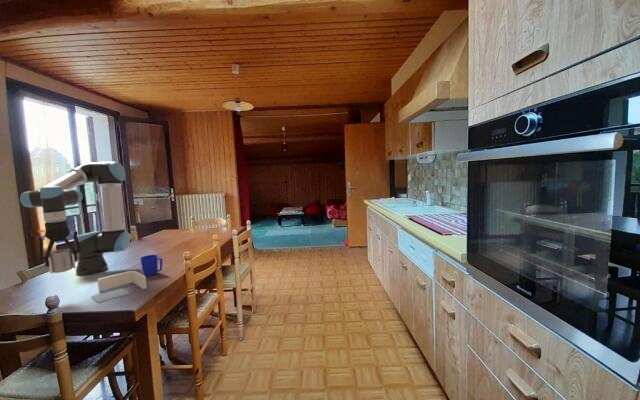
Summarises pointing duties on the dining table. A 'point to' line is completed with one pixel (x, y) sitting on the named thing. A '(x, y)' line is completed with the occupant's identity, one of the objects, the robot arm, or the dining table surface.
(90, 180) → the robot arm
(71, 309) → the dining table surface
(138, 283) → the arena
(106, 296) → the pad
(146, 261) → the mug
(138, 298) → the dining table surface
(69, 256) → the cup
